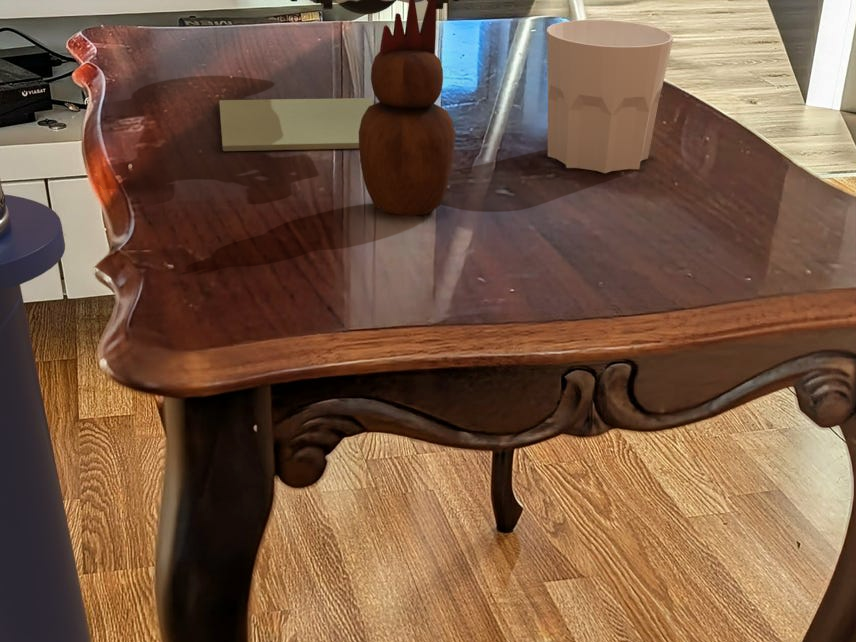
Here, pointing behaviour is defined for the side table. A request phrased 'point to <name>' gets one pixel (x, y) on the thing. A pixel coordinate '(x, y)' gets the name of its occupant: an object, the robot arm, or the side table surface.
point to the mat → (291, 123)
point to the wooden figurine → (407, 121)
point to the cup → (604, 91)
